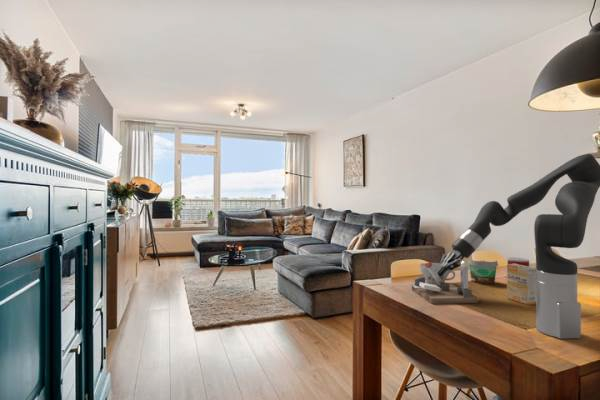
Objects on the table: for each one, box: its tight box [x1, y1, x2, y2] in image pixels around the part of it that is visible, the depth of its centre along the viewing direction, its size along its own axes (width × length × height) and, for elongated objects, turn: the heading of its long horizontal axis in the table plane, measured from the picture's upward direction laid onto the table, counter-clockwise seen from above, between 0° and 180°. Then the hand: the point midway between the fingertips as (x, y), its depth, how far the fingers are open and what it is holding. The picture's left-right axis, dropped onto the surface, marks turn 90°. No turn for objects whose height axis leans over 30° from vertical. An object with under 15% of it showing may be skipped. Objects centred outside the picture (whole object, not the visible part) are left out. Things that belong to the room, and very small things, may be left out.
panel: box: [409, 280, 479, 305], centre depth 130 cm, size 20×18×5 cm
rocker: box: [419, 282, 441, 292], centre depth 128 cm, size 4×6×1 cm
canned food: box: [507, 257, 530, 267], centre depth 147 cm, size 8×8×11 cm
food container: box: [467, 259, 499, 285], centre depth 149 cm, size 12×6×10 cm, turn 76°
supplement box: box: [506, 263, 536, 306], centre depth 122 cm, size 8×5×13 cm, turn 21°
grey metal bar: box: [459, 260, 469, 294], centre depth 123 cm, size 3×3×12 cm
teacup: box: [419, 262, 456, 284], centre depth 149 cm, size 15×12×8 cm
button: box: [414, 276, 426, 286], centre depth 137 cm, size 4×4×3 cm
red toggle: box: [425, 261, 443, 287], centre depth 132 cm, size 3×3×12 cm
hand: (437, 275), depth 133 cm, fingers closed
